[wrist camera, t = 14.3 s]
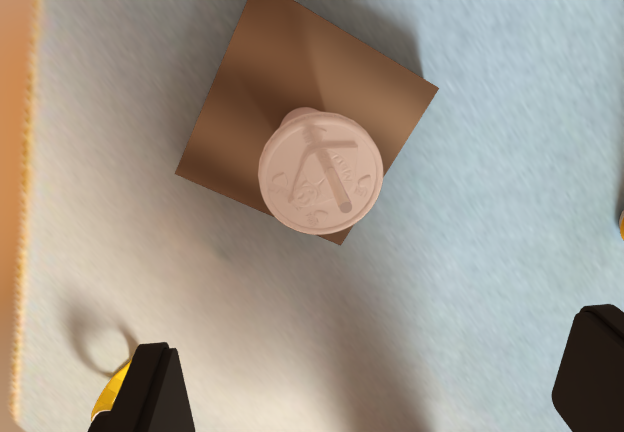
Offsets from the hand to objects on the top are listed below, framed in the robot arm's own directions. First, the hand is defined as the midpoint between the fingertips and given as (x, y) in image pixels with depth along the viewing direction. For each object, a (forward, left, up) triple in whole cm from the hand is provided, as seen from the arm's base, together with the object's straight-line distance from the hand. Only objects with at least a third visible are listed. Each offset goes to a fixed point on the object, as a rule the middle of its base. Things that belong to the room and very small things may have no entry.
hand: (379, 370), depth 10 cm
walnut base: (0, 0, -25) cm, 25 cm away
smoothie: (0, 0, -22) cm, 22 cm away
